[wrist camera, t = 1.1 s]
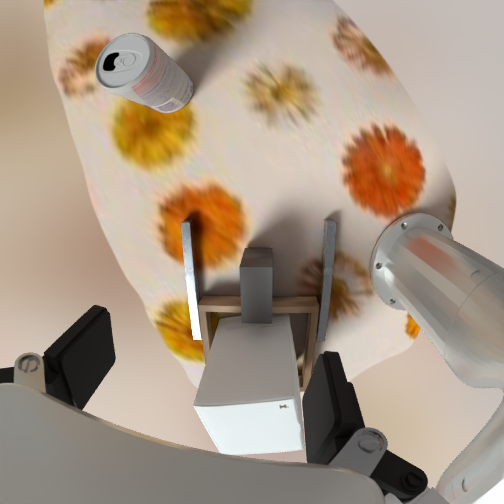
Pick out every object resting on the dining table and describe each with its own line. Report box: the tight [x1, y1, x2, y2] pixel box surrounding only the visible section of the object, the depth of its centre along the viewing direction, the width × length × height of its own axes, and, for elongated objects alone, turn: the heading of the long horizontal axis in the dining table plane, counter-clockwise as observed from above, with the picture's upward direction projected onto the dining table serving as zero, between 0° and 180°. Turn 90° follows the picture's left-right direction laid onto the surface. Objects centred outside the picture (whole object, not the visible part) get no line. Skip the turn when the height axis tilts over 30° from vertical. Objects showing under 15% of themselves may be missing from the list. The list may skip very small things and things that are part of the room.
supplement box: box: [193, 313, 304, 455], centre depth 28 cm, size 9×9×15 cm
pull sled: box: [198, 248, 319, 392], centre depth 32 cm, size 14×20×6 cm
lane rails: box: [181, 220, 336, 342], centre depth 32 cm, size 17×15×2 cm
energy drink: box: [95, 33, 193, 113], centre depth 21 cm, size 5×5×12 cm
